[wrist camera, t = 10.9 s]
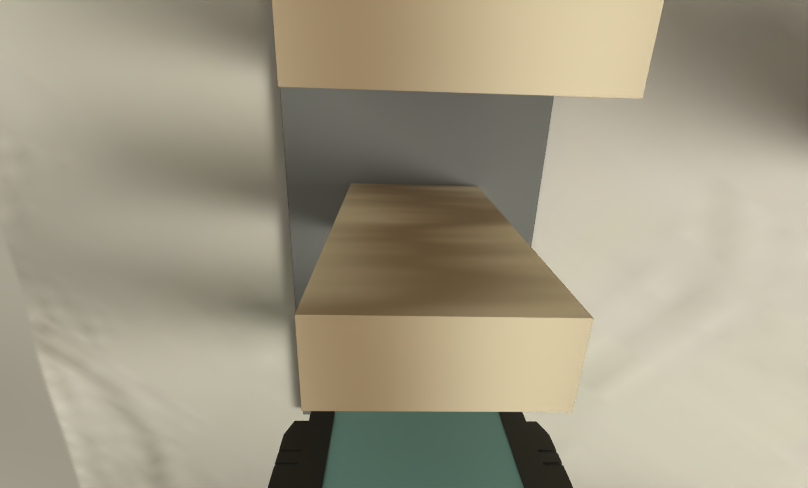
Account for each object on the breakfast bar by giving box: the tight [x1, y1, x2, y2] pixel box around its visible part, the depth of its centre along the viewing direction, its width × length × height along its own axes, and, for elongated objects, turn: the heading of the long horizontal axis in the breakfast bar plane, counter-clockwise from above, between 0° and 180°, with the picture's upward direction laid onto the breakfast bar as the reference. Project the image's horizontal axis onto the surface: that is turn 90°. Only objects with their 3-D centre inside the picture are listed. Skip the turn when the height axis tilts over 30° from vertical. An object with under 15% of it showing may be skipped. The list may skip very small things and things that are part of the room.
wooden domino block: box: [295, 183, 593, 412], centre depth 12 cm, size 5×2×10 cm, turn 88°
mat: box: [280, 87, 554, 414], centre depth 15 cm, size 10×33×1 cm, turn 178°
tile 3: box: [272, 0, 664, 99], centre depth 10 cm, size 5×2×10 cm, turn 88°
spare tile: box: [322, 411, 524, 488], centre depth 12 cm, size 5×2×10 cm, turn 88°
